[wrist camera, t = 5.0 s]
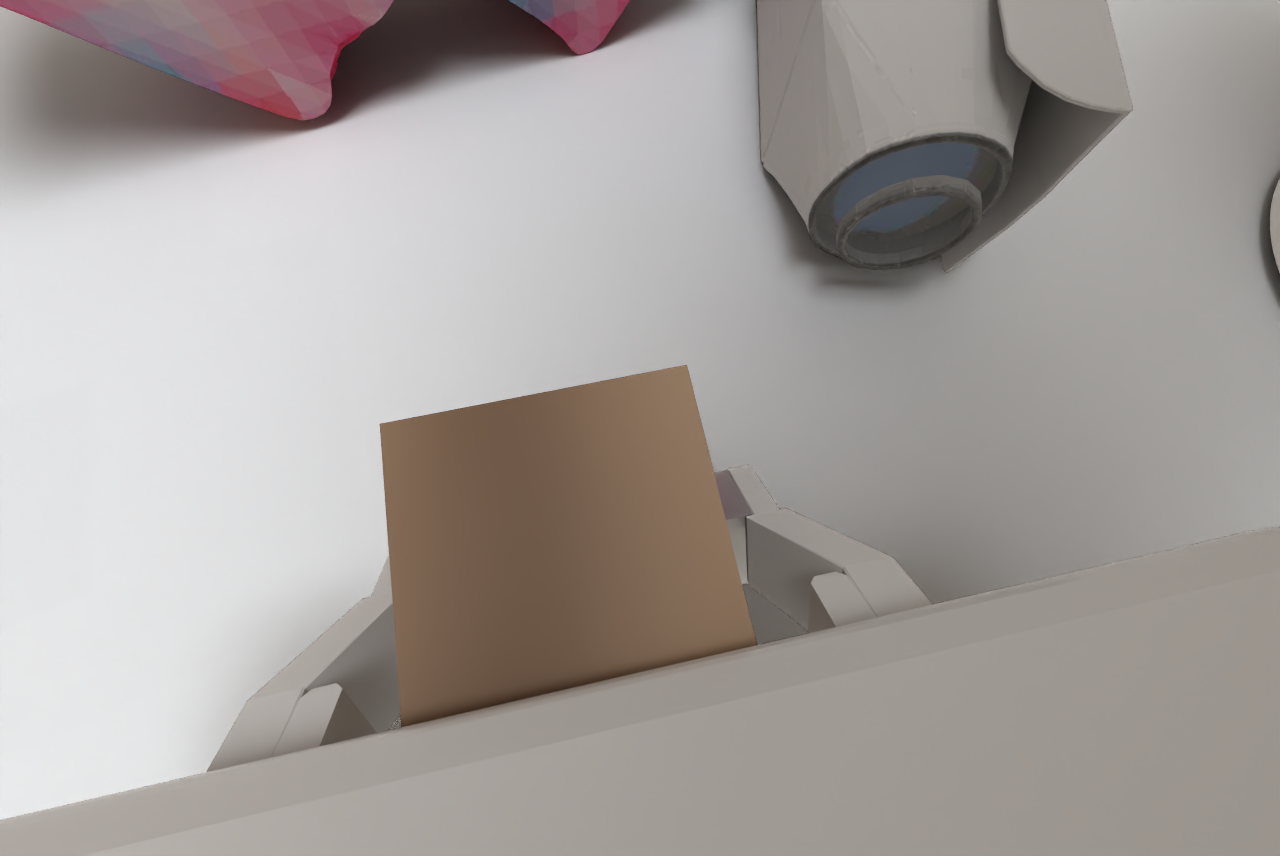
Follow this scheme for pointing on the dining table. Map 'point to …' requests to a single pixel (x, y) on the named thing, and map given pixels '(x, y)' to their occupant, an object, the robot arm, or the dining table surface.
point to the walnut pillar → (555, 544)
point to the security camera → (930, 116)
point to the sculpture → (267, 39)
